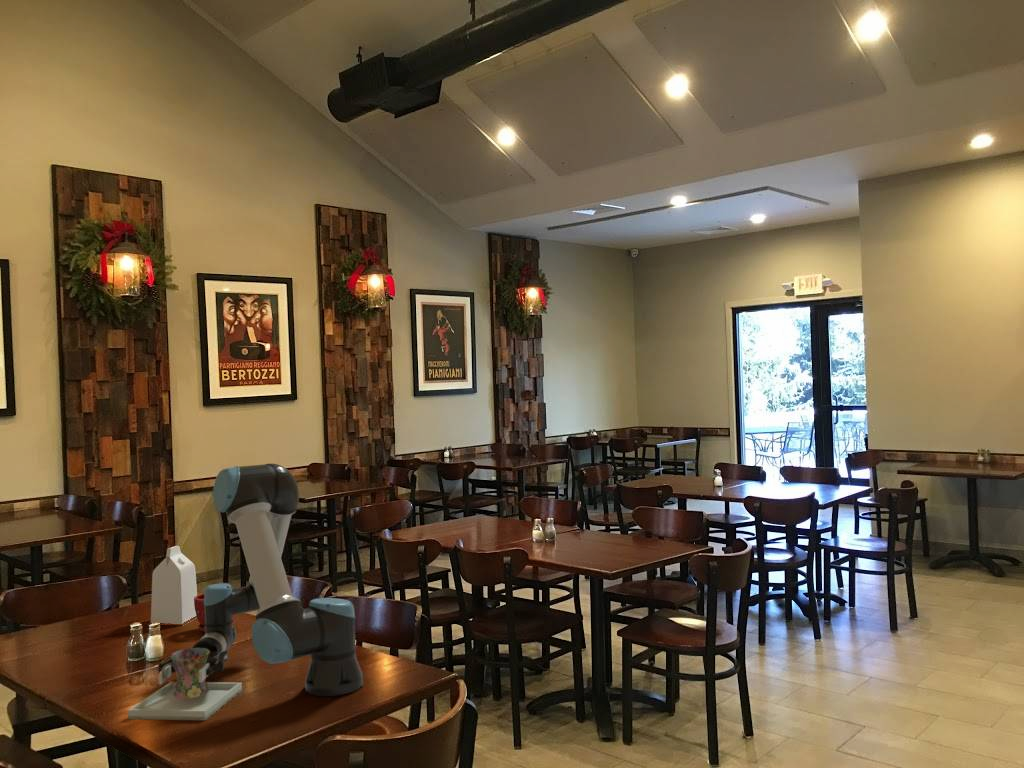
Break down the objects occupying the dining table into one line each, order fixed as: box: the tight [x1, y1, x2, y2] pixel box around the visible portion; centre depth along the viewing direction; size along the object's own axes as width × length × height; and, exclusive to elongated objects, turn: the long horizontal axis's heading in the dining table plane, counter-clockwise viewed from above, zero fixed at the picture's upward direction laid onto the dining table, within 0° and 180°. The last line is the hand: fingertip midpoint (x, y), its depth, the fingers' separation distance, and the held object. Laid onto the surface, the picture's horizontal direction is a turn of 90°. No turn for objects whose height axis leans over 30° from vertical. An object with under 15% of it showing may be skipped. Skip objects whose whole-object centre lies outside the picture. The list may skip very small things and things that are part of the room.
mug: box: [162, 647, 210, 699], centre depth 213 cm, size 12×9×11 cm
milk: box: [150, 545, 198, 624], centre depth 296 cm, size 12×12×26 cm
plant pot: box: [194, 593, 236, 633], centre depth 284 cm, size 13×13×12 cm
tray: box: [127, 681, 243, 721], centre depth 214 cm, size 20×20×2 cm
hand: (180, 677), depth 209 cm, fingers closed on mug, 9 cm apart
